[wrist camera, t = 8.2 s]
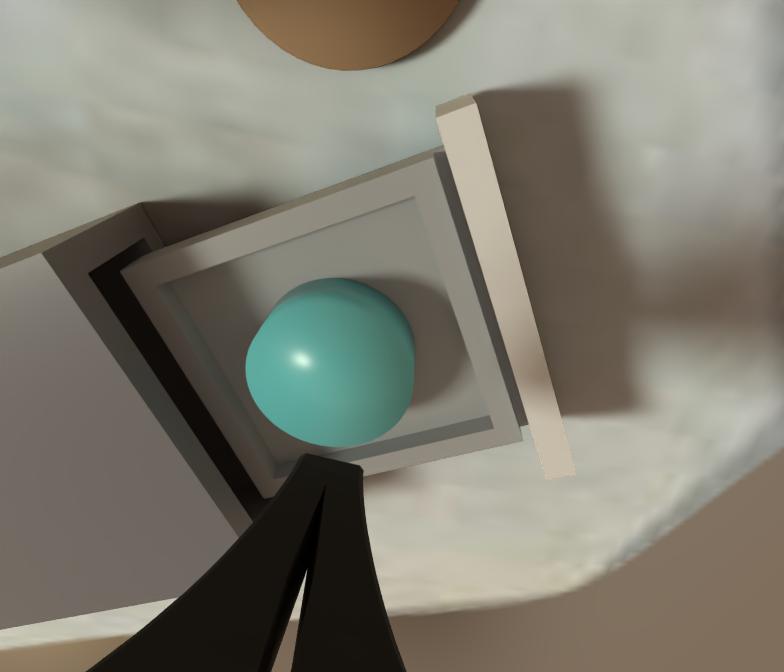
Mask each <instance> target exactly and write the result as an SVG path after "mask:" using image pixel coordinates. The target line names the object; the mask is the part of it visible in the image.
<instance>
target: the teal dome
mask: <svg viewBox="0 0 784 672" xmlns="http://www.w3.org/2000/svg"><path fill="white" fill-rule="evenodd" d="M414 367H415V341H414V336H413V332H412V329H411V327H410V325H409V323H408V321H407V319H406V317H405V316H404V314H403V313H402V311H401V310H400V309H399V308H398V307H397V305H396V304H395V303H394V302H393V301H392V300H390V299H389V298H388V297H387V296H386V295H384V294H383V293H381V292H380V291H378V290H376V289H374V288H372V287H370V286H369V285H366V284H363V283H360V282H357V281H353V280H349V279H341V278H325V279H317V280H313V281H309V282H306V283H304V284H301V285H299V286H297V287H295V288H294V289H292V290H290V291H289V292H288V293H286V294H285V295H284V296H283V297H282V298H281V299H280V300H279V301H278V302H277V303H276V304H275V306H274V307H273V309H272V310H271V312H270V313H269V315H268V317H267V318H266V320H265V321H264V323H263V325H262V326H261V328H260V329H259V331H258V333H257V334H256V336H255V337H254V339H253V341H252V343H251V345H250V347H249V350H248V354H247V357H246V366H245V368H246V379H247V384H248V387H249V390H250V393H251V395H252V397H253V399H254V401H255V403H256V404H257V406H258V407H259V409H260V410H261V411H262V413H263V414H264V415H265V416H266V417H267V418H268V419H269V420H270V421H271V422H272V423H273V424H275V425H276V426H277V427H279V428H280V429H281V430H283V431H284V432H286V433H288V434H290V435H291V436H293V437H296V438H298V439H300V440H303V441H306V442H309V443H312V444H317V445H321V446H329V447H346V446H354V445H359V444H363V443H366V442H369V441H372V440H374V439H376V438H379V437H380V436H382V435H384V434H385V433H387V432H388V431H389V430H391V429H392V428H393V427H394V426H395V425H396V424H397V423H398V422H399V421H400V420H401V418H402V417H403V415H404V414H405V412H406V410H407V408H408V406H409V404H410V401H411V397H412V392H413V382H414Z"/></svg>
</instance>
